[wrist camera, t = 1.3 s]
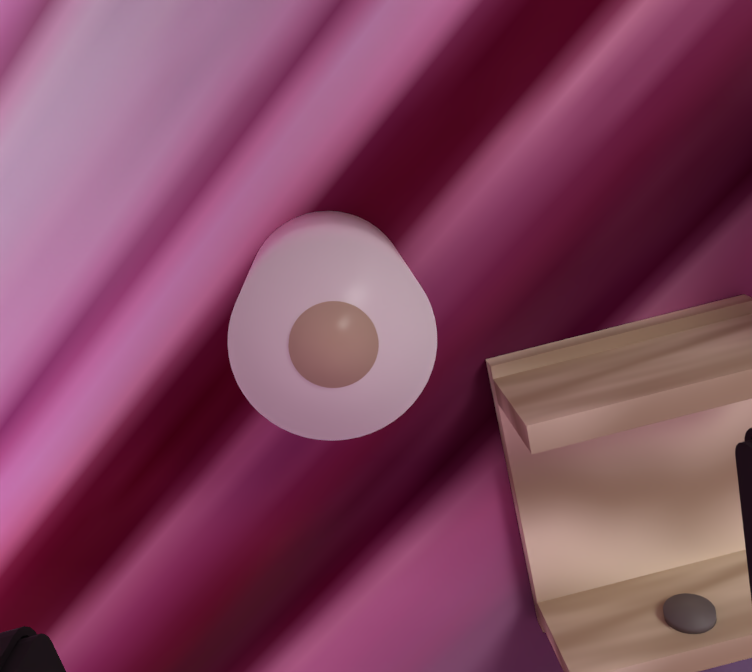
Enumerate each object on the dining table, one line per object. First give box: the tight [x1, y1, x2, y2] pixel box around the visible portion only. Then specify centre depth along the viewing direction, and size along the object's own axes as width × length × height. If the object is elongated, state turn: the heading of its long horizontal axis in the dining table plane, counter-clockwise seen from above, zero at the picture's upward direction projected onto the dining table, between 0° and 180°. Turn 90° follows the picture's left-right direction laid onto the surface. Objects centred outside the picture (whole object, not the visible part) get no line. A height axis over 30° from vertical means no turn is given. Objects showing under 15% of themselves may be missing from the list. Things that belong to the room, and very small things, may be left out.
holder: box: [486, 294, 752, 672], centre depth 26 cm, size 12×10×5 cm
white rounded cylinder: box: [228, 211, 437, 441], centre depth 22 cm, size 6×6×7 cm
